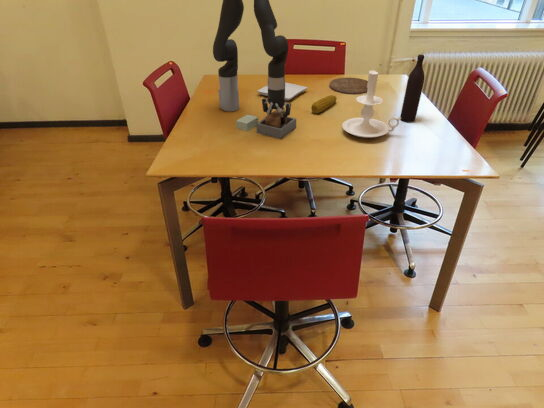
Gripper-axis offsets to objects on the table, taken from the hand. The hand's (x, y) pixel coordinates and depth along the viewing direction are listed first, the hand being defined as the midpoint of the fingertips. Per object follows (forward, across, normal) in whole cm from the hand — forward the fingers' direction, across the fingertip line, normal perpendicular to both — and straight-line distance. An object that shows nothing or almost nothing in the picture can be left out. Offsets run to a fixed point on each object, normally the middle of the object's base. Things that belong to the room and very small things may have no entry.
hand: (276, 122), depth 173 cm
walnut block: (+1, 0, 0) cm, 1 cm away
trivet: (+4, +8, +73) cm, 74 cm away
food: (+4, +8, +35) cm, 36 cm away
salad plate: (+4, -21, +43) cm, 48 cm away
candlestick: (+4, +38, +18) cm, 42 cm away
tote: (+4, 0, 0) cm, 4 cm away
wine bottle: (+4, +49, +42) cm, 65 cm away
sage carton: (+4, -14, -3) cm, 15 cm away
